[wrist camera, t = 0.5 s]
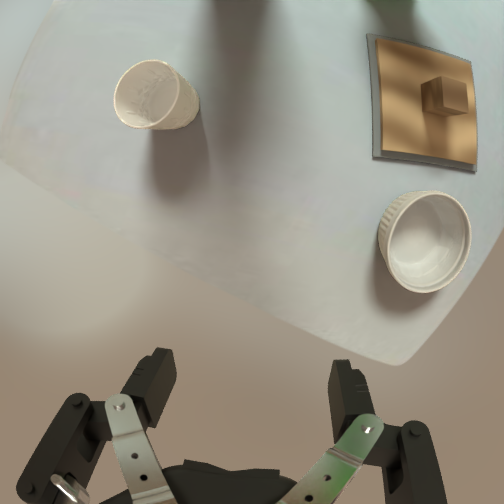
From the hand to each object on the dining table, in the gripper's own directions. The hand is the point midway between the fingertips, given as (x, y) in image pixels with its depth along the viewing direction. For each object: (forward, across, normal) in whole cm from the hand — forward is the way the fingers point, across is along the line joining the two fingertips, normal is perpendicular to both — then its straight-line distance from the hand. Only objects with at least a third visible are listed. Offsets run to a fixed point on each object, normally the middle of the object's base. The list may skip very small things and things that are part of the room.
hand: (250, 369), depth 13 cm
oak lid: (+27, -22, -19) cm, 40 cm away
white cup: (+28, +13, -17) cm, 35 cm away
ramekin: (+28, -20, 0) cm, 34 cm away
